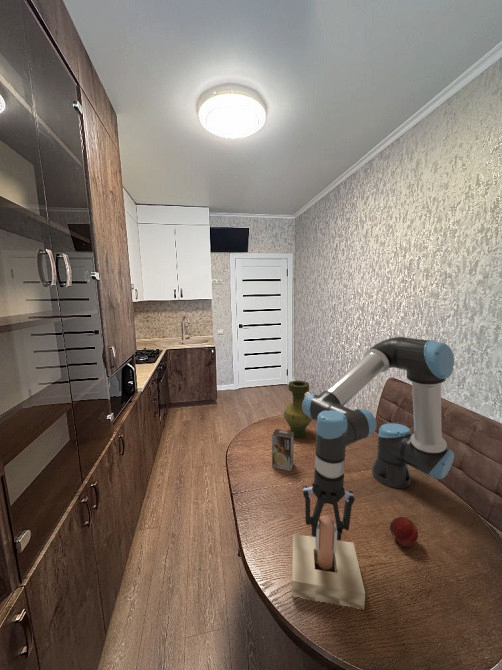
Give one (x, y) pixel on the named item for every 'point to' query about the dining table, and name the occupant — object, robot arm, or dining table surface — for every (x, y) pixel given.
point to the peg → (325, 542)
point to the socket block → (326, 574)
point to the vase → (297, 409)
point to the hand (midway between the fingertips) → (325, 546)
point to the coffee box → (282, 449)
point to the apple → (404, 531)
